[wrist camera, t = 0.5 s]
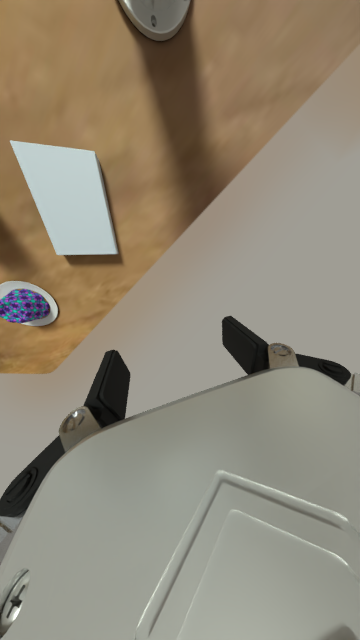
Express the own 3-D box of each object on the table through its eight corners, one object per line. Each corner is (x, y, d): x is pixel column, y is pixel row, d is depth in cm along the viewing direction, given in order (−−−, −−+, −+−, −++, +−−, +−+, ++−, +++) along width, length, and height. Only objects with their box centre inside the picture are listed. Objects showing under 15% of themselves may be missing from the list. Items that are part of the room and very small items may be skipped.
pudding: (28, 271, 30) (7, 274, 25) (70, 312, 36) (59, 321, 31) (-18, 294, 30) (-48, 301, 25) (32, 331, 36) (15, 342, 31)
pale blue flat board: (25, 153, 23) (9, 140, 20) (99, 161, 25) (94, 151, 22) (64, 254, 30) (57, 255, 27) (119, 253, 32) (116, 254, 30)
